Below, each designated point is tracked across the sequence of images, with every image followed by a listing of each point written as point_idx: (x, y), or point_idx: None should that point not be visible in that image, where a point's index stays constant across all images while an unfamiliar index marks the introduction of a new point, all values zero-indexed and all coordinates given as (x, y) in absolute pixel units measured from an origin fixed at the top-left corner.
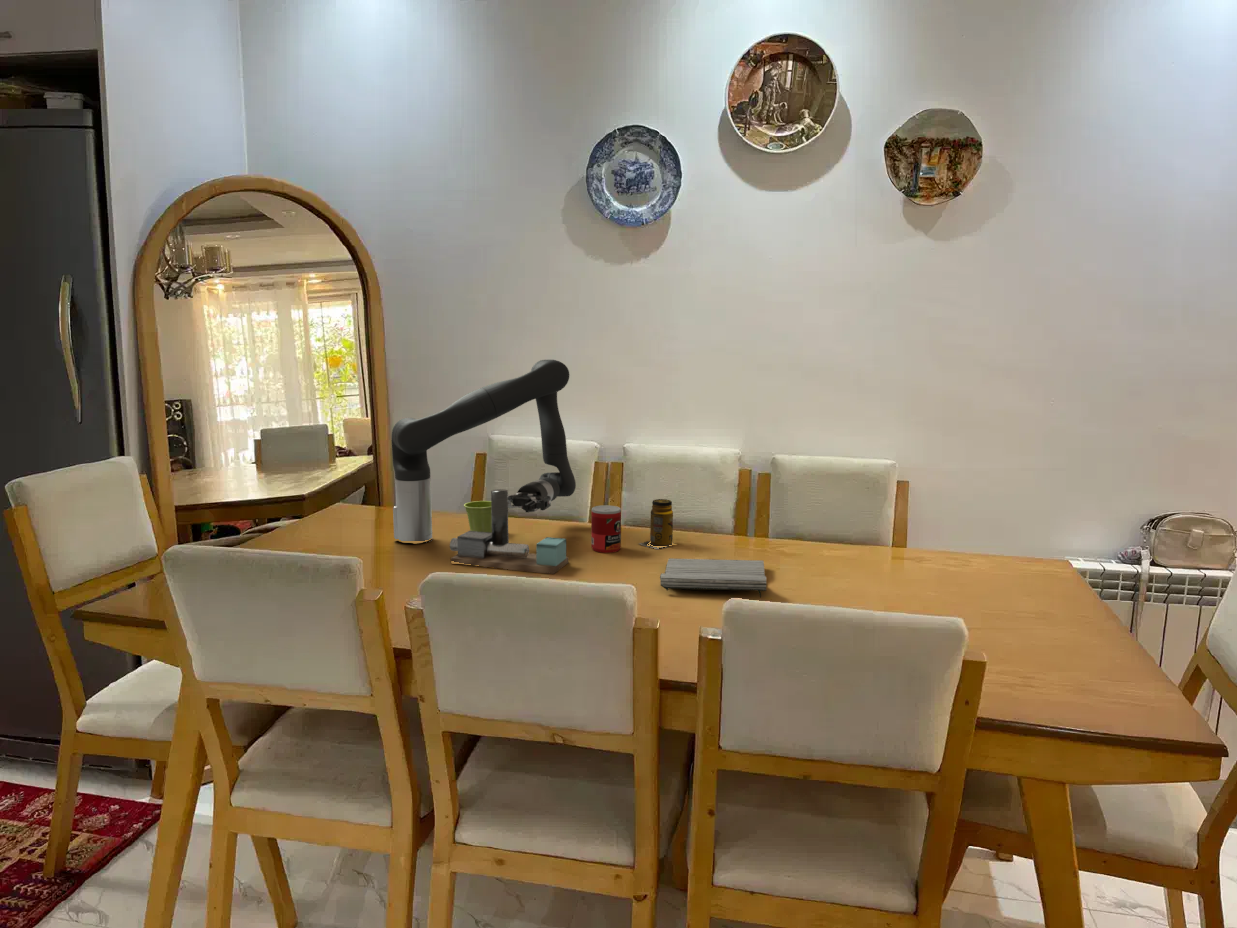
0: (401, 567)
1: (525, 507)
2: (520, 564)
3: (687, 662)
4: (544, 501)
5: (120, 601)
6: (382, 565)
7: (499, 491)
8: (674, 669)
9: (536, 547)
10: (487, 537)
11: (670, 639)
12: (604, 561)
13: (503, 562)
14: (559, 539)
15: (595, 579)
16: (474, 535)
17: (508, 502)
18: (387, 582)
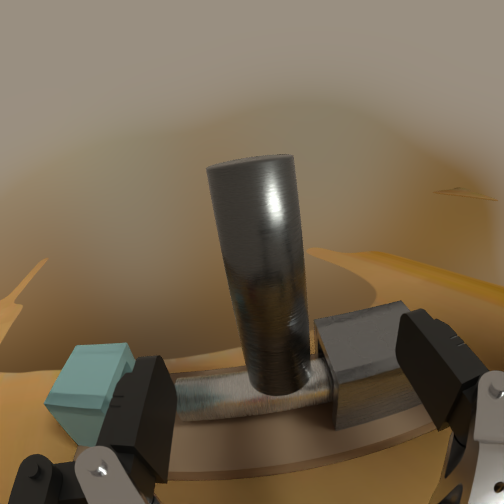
0: (440, 293)
1: (166, 368)
2: (189, 373)
3: (33, 268)
4: (25, 466)
5: (470, 193)
6: (470, 284)
7: (240, 160)
8: (43, 261)
9: (130, 351)
10: (321, 341)
11: (28, 282)
12: (5, 484)
13: (241, 369)
14: (62, 393)
15: (39, 378)
16: (373, 329)
17: (453, 472)
18: (379, 260)
